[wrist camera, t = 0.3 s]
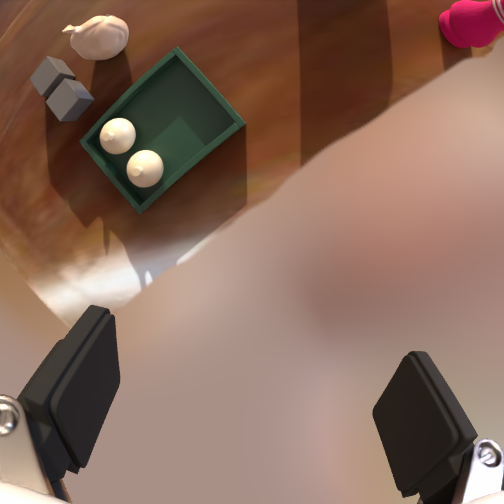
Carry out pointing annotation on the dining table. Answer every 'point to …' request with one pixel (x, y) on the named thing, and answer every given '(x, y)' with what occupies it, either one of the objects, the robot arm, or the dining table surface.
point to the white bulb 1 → (117, 136)
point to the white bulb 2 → (145, 168)
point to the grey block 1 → (50, 76)
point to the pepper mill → (472, 23)
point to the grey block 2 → (69, 100)
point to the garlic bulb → (99, 37)
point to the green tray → (165, 126)
